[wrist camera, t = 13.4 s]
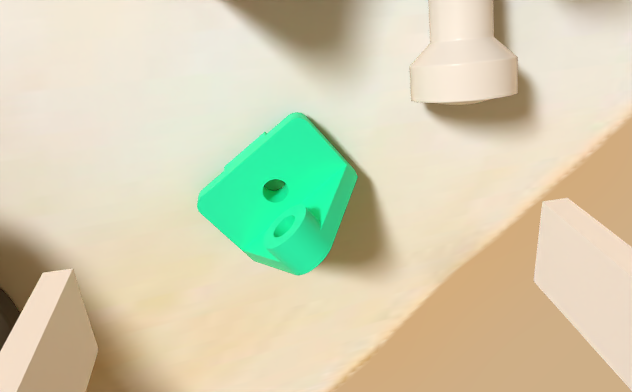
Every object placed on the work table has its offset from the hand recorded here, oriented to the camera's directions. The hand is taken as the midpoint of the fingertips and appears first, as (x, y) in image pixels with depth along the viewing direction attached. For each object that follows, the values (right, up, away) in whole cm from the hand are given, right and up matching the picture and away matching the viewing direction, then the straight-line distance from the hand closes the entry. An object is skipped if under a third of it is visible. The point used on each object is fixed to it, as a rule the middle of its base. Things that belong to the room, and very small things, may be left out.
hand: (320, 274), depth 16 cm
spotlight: (+10, +16, +30) cm, 36 cm away
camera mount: (-4, +4, +34) cm, 34 cm away
